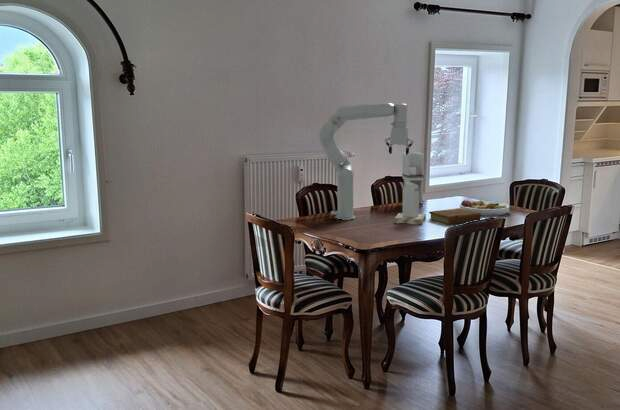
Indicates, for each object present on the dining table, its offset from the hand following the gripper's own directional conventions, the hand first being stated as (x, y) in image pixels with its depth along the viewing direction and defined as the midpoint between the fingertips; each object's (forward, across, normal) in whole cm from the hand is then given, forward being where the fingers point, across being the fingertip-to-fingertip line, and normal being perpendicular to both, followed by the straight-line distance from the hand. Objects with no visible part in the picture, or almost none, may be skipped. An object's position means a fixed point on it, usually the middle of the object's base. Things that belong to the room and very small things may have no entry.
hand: (398, 154), depth 360 cm
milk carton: (+36, +10, -5) cm, 37 cm away
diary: (+39, +34, +3) cm, 52 cm away
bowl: (+38, +49, +36) cm, 71 cm away
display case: (+39, +2, +48) cm, 62 cm away
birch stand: (+39, +9, -5) cm, 40 cm away
